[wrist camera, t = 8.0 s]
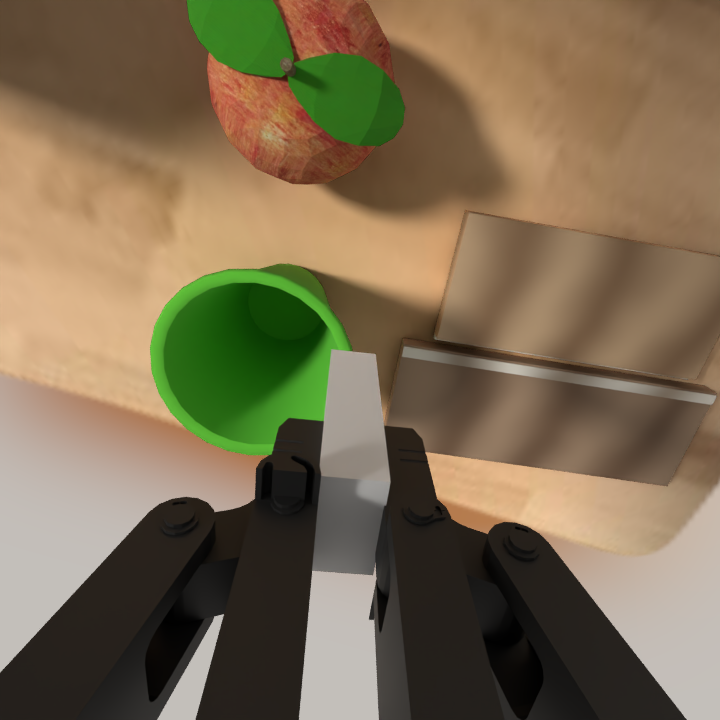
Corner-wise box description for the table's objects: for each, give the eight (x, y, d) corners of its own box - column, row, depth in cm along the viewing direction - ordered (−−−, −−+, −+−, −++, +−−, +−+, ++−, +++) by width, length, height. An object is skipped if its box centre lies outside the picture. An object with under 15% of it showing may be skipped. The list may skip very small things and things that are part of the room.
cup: (190, 274, 30) (104, 332, 20) (312, 204, 28) (286, 229, 18) (266, 385, 33) (224, 484, 23) (379, 328, 31) (389, 408, 21)
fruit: (330, 215, 28) (316, 242, 19) (196, 103, 26) (106, 70, 17) (425, 90, 26) (462, 52, 16) (286, -48, 23) (238, -184, 14)
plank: (433, 336, 31) (435, 343, 30) (465, 210, 28) (469, 212, 27) (682, 375, 32) (693, 383, 31) (742, 260, 29) (757, 264, 28)
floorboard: (381, 436, 35) (381, 446, 33) (402, 337, 31) (404, 344, 30) (657, 476, 36) (668, 487, 35) (704, 385, 33) (717, 394, 32)
